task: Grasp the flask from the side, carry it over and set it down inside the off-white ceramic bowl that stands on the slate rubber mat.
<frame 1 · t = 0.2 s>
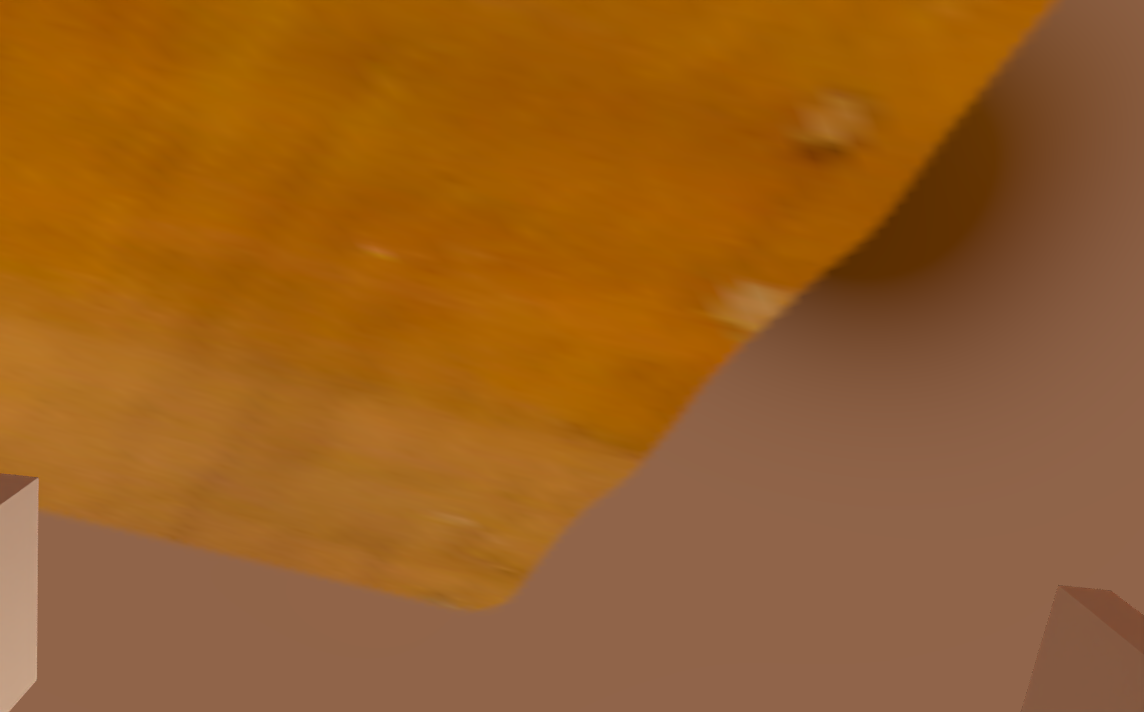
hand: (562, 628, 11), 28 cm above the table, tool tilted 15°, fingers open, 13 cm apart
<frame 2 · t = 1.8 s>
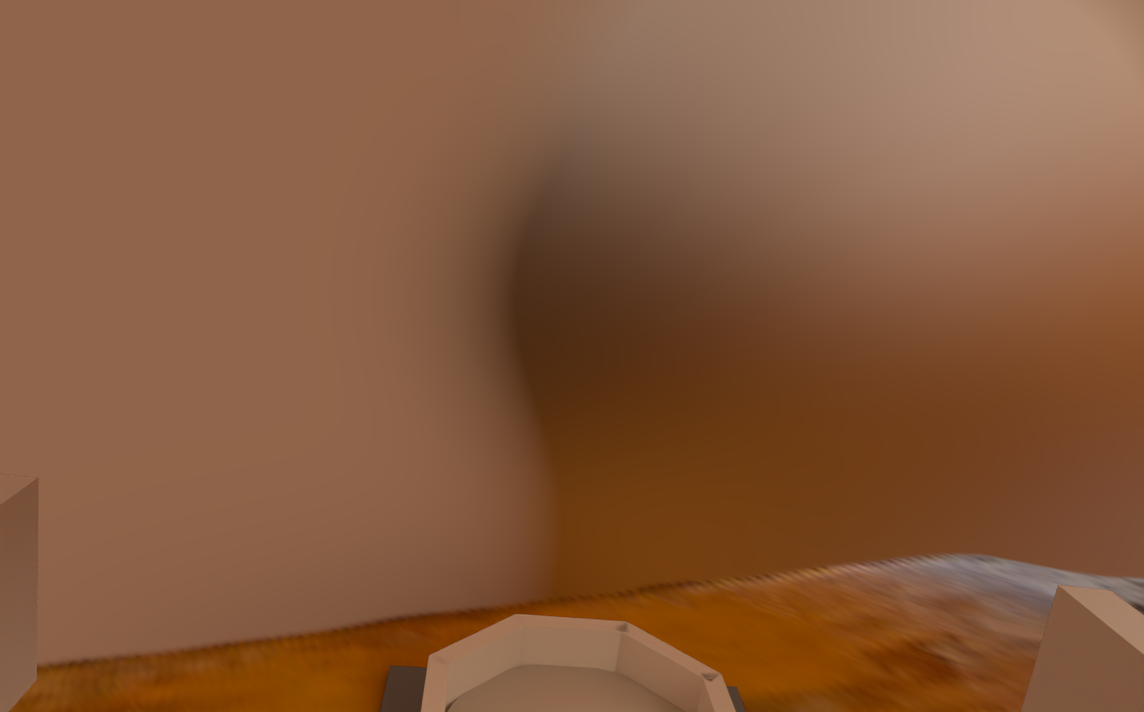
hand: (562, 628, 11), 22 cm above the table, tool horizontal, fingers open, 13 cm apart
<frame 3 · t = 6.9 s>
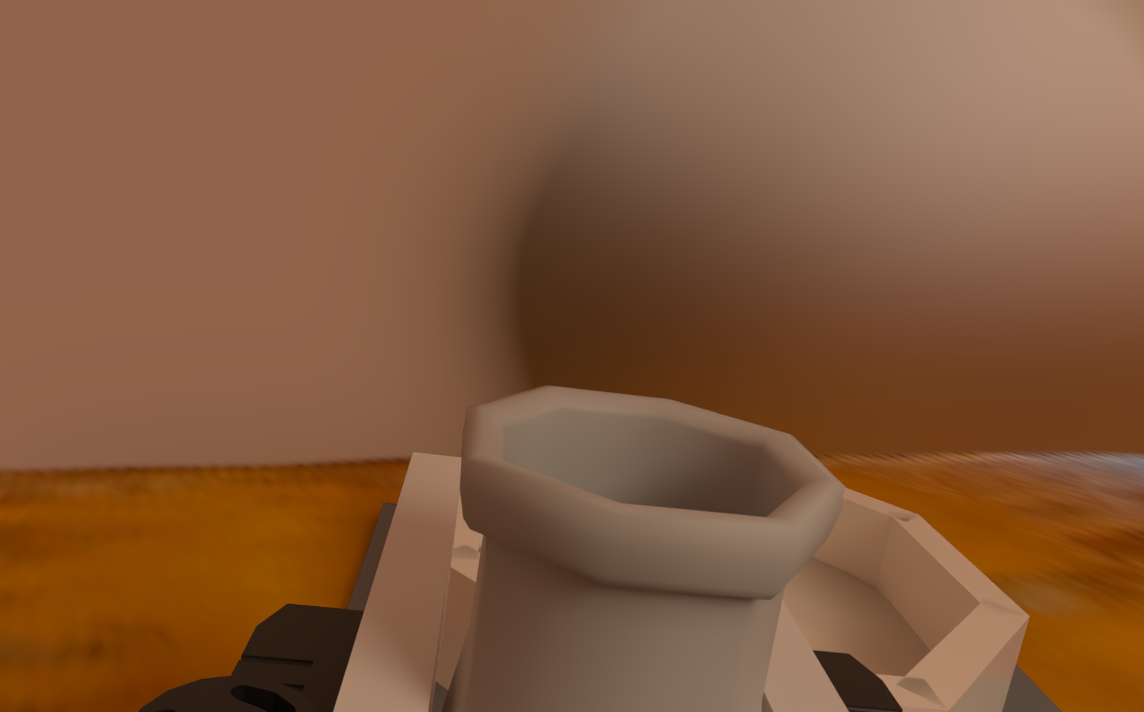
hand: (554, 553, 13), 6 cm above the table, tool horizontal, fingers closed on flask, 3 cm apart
mat: (703, 675, 22), on the table
bowl: (693, 628, 24), resting on mat
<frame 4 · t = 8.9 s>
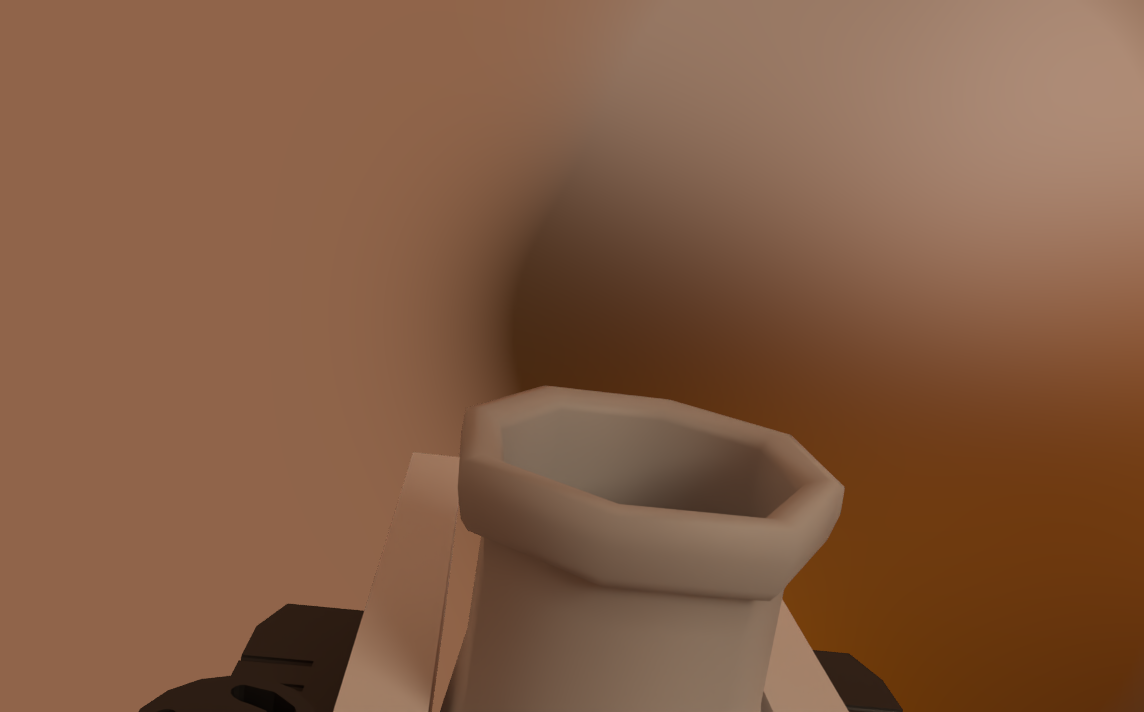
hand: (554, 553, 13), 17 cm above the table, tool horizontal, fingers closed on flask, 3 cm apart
when the fingers open (9 cm above the table, at t = 11.0 s): flask drops 1 cm, resting on bowl.
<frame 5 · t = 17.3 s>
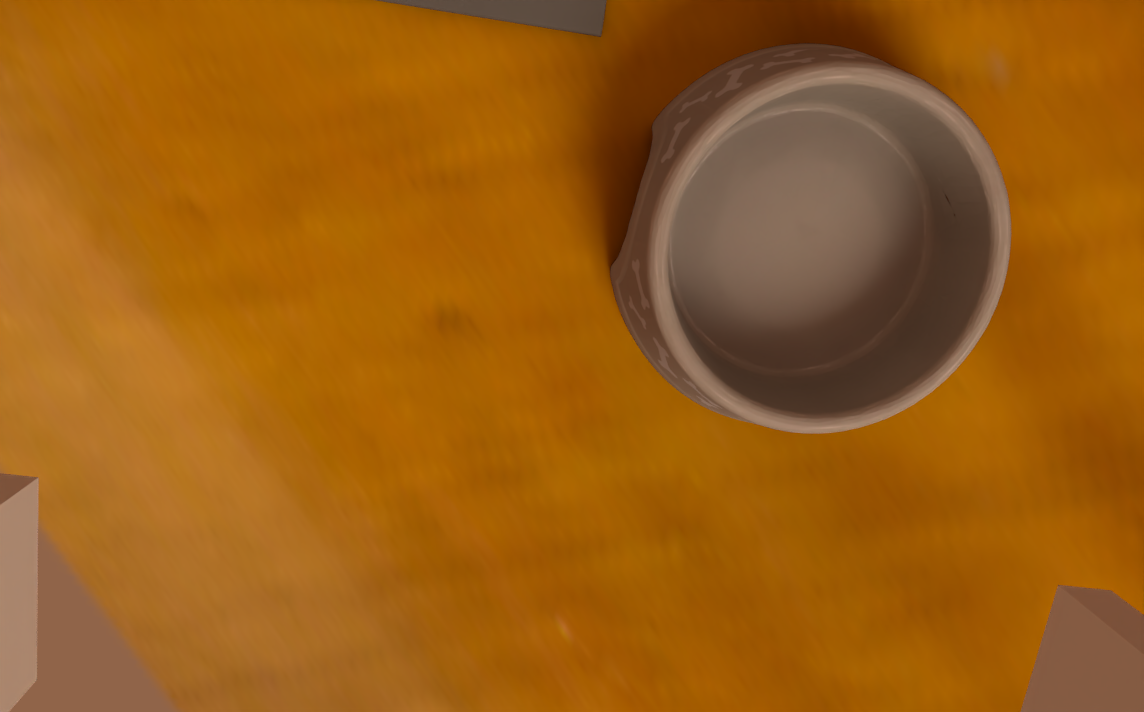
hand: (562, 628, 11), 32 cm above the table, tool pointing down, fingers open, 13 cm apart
dog bowl: (793, 242, 43), on the table
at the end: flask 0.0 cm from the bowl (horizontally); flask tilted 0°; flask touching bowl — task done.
